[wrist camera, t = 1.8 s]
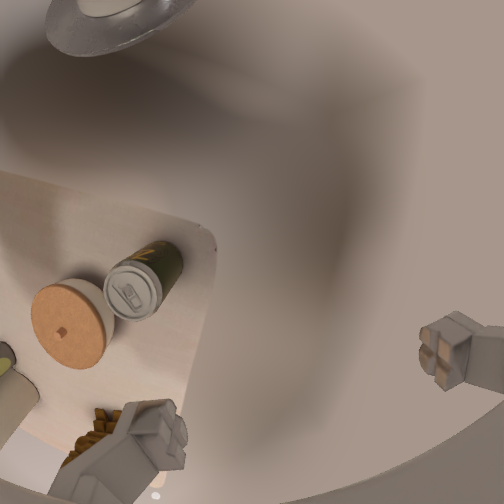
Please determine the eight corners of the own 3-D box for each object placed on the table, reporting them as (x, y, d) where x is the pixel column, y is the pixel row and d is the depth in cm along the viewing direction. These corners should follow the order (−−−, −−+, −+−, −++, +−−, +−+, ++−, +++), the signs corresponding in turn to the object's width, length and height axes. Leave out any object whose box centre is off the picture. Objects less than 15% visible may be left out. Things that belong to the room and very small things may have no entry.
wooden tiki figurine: (126, 409, 38) (97, 477, 24) (138, 436, 40) (116, 501, 25) (90, 405, 38) (56, 466, 24) (103, 432, 40) (76, 491, 25)
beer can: (192, 270, 35) (172, 307, 23) (156, 290, 35) (123, 333, 23) (169, 231, 34) (136, 250, 22) (133, 253, 34) (90, 281, 22)
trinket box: (141, 311, 35) (115, 346, 26) (99, 354, 36) (72, 390, 27) (85, 252, 34) (46, 269, 24) (49, 301, 34) (12, 326, 25)
